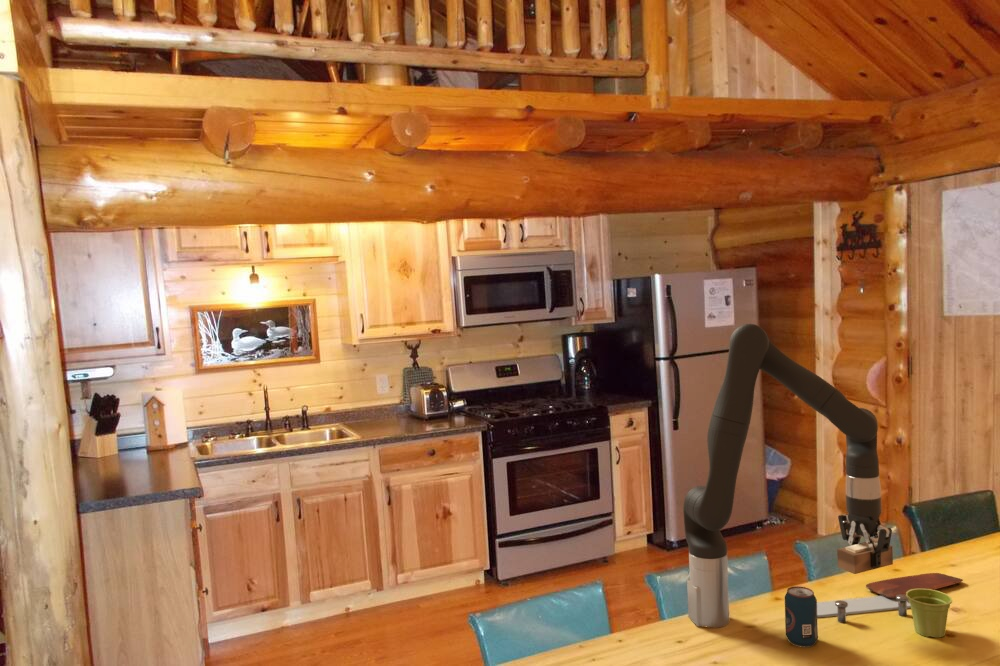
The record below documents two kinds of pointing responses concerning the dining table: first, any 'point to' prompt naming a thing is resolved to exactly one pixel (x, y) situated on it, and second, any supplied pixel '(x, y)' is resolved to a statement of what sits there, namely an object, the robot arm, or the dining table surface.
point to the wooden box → (861, 558)
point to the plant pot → (929, 611)
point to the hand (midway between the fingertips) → (865, 563)
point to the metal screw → (841, 610)
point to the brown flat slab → (911, 584)
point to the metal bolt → (902, 604)
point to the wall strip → (858, 606)
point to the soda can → (801, 616)
